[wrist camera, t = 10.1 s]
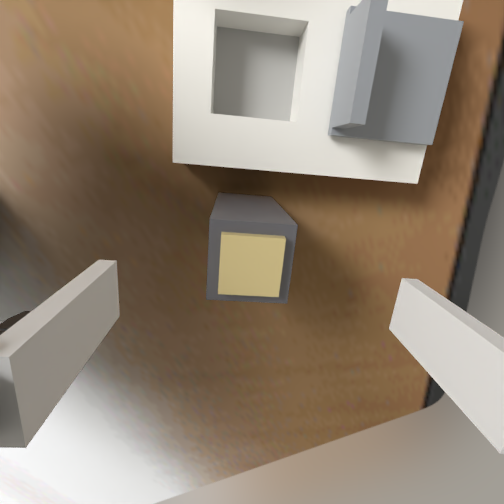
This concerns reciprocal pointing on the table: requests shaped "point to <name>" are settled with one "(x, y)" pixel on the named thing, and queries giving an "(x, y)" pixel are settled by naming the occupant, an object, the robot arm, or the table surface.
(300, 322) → the table surface
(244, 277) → the plug
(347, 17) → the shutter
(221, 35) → the socket
